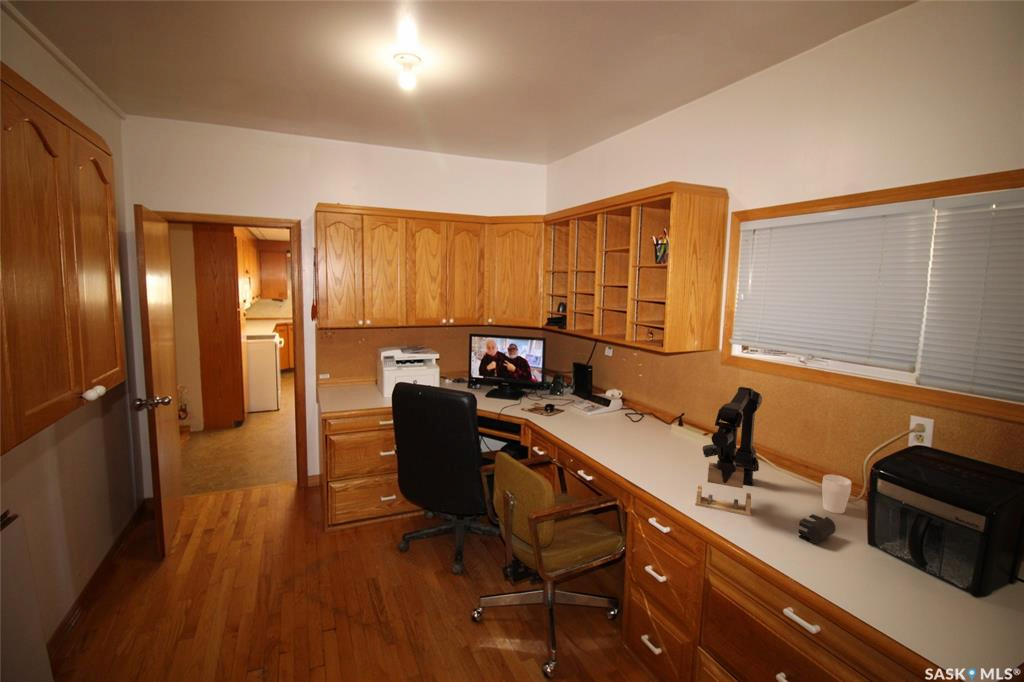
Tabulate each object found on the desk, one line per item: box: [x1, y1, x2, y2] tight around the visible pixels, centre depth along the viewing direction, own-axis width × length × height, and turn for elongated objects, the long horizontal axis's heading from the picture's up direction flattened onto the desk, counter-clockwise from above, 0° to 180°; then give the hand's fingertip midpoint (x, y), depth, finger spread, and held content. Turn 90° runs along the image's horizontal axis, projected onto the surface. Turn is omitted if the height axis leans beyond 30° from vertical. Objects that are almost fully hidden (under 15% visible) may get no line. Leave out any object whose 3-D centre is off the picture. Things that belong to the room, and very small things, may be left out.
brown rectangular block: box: [707, 461, 744, 489], centre depth 182 cm, size 5×12×6 cm, turn 65°
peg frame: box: [694, 483, 752, 517], centre depth 183 cm, size 7×19×6 cm, turn 65°
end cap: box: [797, 513, 837, 545], centre depth 162 cm, size 10×7×7 cm
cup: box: [821, 474, 852, 515], centre depth 181 cm, size 9×9×12 cm
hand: (724, 479), depth 182 cm, fingers closed on brown rectangular block, 5 cm apart
